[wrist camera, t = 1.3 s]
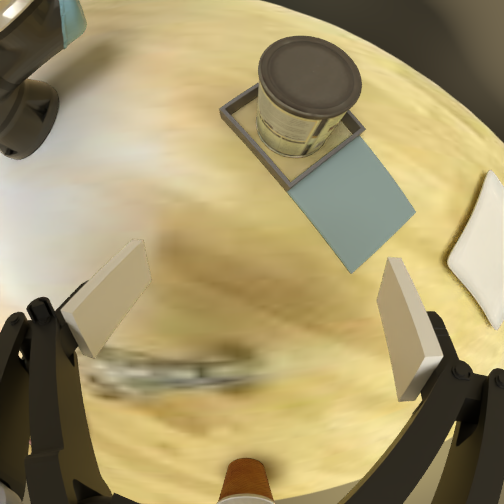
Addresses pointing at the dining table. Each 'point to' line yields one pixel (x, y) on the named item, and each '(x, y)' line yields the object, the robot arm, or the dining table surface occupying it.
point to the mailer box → (339, 191)
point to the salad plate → (483, 251)
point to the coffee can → (303, 93)
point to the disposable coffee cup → (246, 484)
